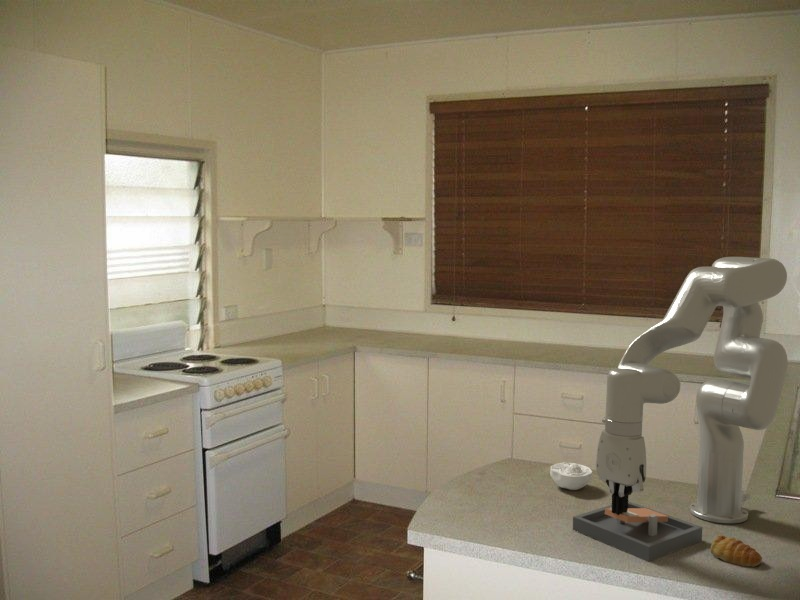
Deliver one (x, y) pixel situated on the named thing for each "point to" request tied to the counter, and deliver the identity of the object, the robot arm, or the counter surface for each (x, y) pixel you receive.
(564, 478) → the cell model
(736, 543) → the pastry
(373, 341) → the counter surface
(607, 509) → the rocker
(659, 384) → the robot arm
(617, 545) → the breaker panel
